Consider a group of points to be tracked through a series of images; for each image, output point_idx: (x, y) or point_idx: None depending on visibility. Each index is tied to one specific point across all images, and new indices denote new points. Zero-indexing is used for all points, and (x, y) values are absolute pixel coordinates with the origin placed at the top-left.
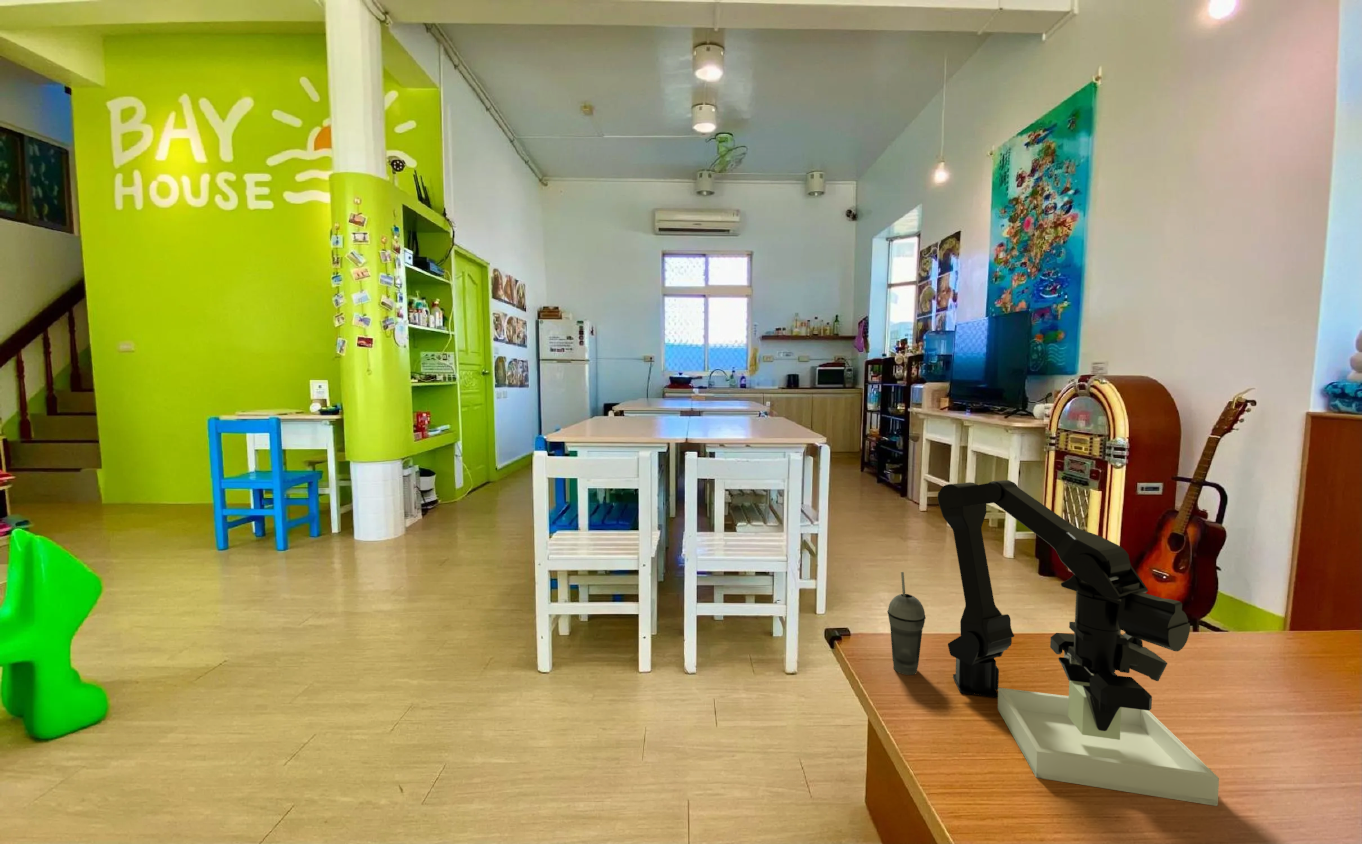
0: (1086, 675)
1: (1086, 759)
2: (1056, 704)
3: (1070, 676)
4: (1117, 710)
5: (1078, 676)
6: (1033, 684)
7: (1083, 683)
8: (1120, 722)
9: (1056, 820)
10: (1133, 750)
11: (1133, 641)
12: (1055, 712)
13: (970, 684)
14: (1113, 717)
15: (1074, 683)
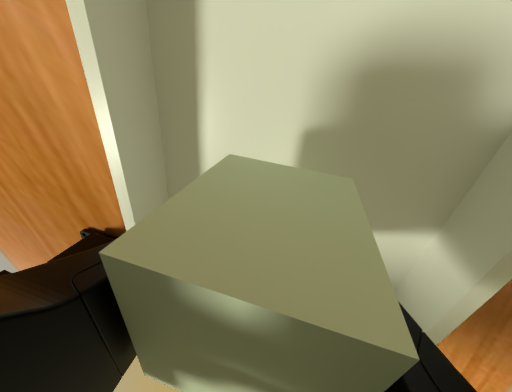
0: (65, 367)
1: (439, 336)
2: (148, 200)
3: (113, 383)
4: (470, 386)
5: (96, 372)
6: (45, 145)
7: (149, 351)
8: (366, 219)
9: (487, 368)
10: (302, 75)
11: None
12: (163, 191)
13: None
14: (403, 309)
15: (168, 381)
